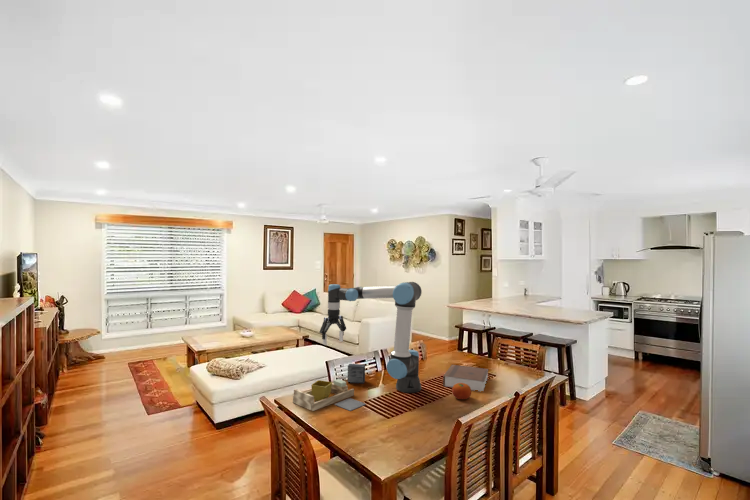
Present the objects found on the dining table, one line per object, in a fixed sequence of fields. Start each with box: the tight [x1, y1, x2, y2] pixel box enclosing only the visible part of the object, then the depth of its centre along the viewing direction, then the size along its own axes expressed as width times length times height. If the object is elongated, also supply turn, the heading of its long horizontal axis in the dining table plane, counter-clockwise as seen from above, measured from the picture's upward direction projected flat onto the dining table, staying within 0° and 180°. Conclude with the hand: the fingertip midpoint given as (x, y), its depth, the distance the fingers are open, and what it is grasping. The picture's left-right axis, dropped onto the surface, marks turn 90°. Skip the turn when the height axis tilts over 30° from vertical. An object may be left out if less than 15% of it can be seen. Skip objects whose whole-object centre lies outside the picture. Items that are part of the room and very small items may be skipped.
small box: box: [346, 363, 366, 385], centre depth 239 cm, size 11×6×10 cm, turn 84°
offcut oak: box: [331, 382, 349, 392], centre depth 218 cm, size 10×4×2 cm, turn 54°
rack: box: [292, 388, 355, 412], centre depth 209 cm, size 16×30×7 cm, turn 139°
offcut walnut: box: [330, 388, 349, 395], centre depth 217 cm, size 12×4×3 cm, turn 50°
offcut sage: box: [332, 378, 347, 387], centre depth 218 cm, size 7×4×2 cm, turn 44°
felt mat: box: [333, 397, 367, 412], centre depth 202 cm, size 12×12×1 cm
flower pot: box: [310, 379, 333, 402], centre depth 208 cm, size 9×9×9 cm
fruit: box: [451, 383, 472, 400], centre depth 214 cm, size 11×10×8 cm
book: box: [442, 364, 489, 392], centre depth 243 cm, size 24×28×7 cm
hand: (332, 342), depth 238 cm, fingers open, 13 cm apart
